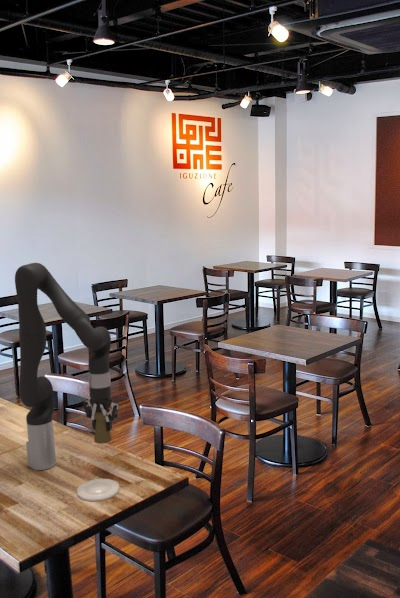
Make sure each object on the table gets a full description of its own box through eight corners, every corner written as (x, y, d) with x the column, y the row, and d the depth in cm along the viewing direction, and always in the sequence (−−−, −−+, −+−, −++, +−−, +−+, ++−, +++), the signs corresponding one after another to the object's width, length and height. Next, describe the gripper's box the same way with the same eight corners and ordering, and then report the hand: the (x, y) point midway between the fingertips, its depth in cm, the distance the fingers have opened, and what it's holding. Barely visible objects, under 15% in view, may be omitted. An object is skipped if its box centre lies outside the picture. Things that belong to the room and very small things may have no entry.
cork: (108, 444, 215) (106, 414, 213) (91, 443, 216) (90, 413, 214) (113, 437, 221) (112, 408, 219) (97, 436, 222) (96, 407, 220)
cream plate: (69, 498, 202) (68, 495, 202) (90, 479, 215) (90, 476, 215) (106, 504, 197) (106, 501, 197) (126, 484, 210) (126, 481, 210)
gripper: (76, 385, 214) (79, 431, 217) (112, 389, 209) (115, 436, 212) (87, 379, 221) (90, 423, 224) (123, 382, 216) (125, 428, 219)
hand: (102, 429), depth 218 cm, fingers closed on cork, 4 cm apart
